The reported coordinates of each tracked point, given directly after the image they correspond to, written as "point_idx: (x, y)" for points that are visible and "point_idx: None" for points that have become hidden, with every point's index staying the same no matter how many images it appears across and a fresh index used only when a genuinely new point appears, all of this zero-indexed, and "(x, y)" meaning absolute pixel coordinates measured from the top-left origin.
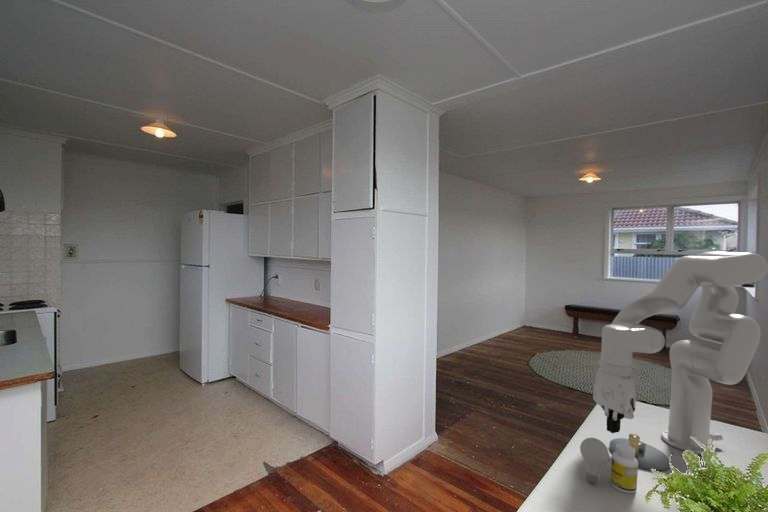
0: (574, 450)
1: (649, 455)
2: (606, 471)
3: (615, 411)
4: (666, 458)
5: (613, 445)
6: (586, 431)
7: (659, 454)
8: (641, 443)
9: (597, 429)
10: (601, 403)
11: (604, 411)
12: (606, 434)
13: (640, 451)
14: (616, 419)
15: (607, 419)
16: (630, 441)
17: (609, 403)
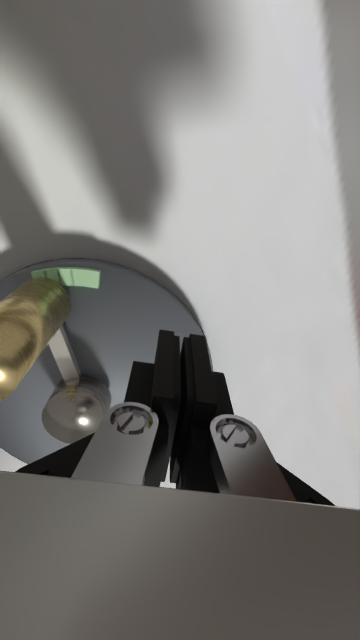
0: (298, 65)
1: (43, 400)
2: (39, 8)
3: (36, 475)
4: (2, 438)
5: (177, 333)
6: (348, 372)
7: (34, 444)
8: (66, 428)
9: (319, 434)
10: (358, 531)
11: (280, 465)
12: (271, 428)
13: (61, 382)
14: (106, 416)
15: (211, 389)
16: (1, 317)
17: (150, 623)
